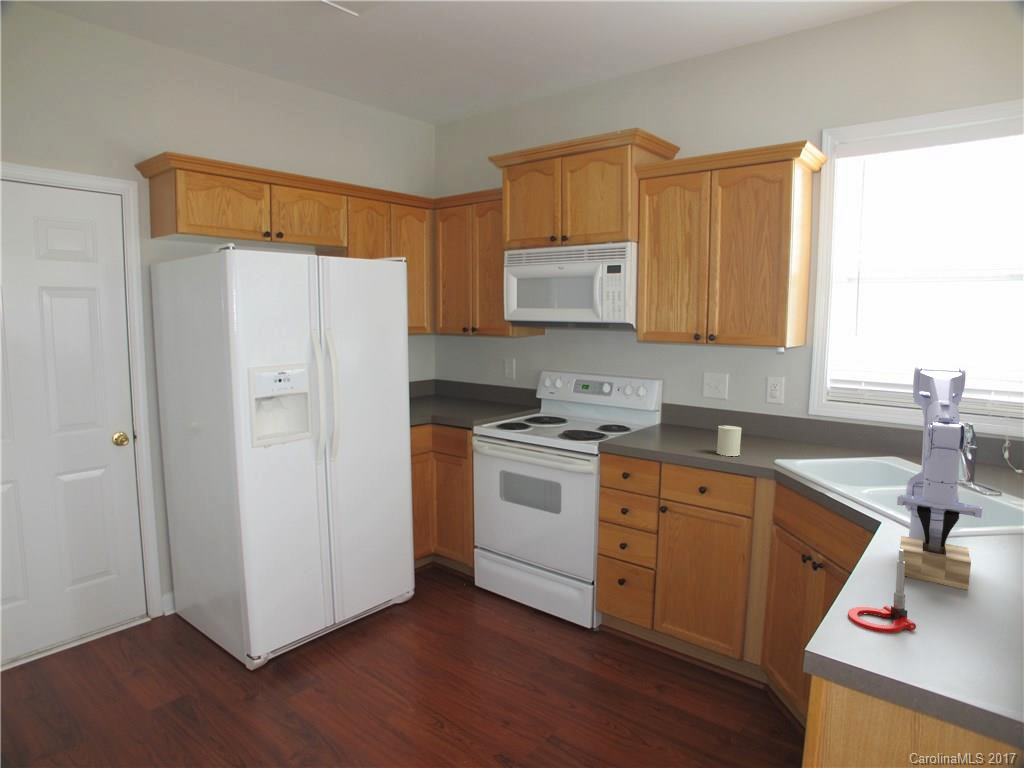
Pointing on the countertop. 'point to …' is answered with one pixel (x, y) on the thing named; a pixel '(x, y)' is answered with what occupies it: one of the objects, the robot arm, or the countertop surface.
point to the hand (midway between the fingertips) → (934, 544)
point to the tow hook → (894, 612)
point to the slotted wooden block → (936, 563)
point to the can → (729, 440)
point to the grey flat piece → (934, 540)
